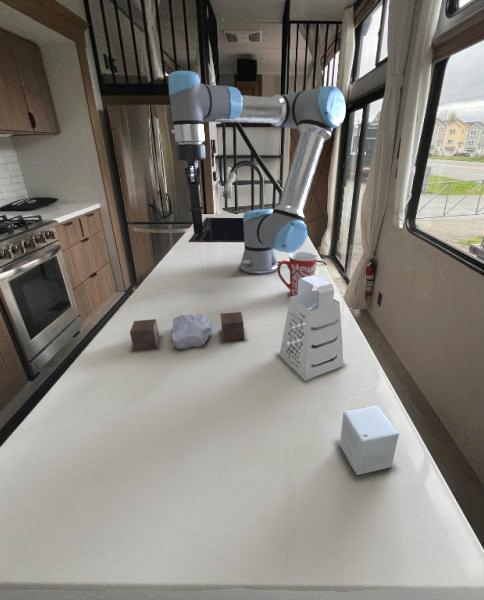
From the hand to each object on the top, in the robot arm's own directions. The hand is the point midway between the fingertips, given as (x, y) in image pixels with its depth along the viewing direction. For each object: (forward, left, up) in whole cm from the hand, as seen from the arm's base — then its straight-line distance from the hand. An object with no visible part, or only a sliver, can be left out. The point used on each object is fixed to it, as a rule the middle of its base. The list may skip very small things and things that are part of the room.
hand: (198, 233), depth 95 cm
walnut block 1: (+15, +22, -22) cm, 35 cm away
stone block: (+3, +20, -23) cm, 31 cm away
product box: (-25, +62, -23) cm, 71 cm away
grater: (-24, +36, -23) cm, 49 cm away
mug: (-30, 0, -23) cm, 38 cm away
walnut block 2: (-7, +22, -22) cm, 32 cm away
